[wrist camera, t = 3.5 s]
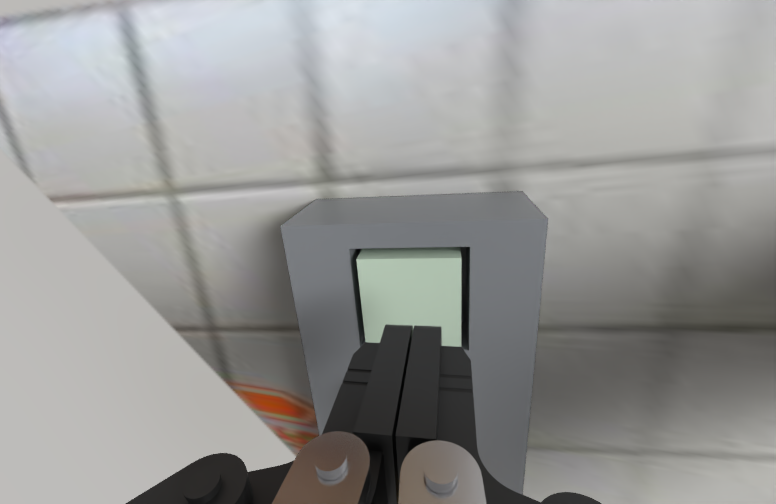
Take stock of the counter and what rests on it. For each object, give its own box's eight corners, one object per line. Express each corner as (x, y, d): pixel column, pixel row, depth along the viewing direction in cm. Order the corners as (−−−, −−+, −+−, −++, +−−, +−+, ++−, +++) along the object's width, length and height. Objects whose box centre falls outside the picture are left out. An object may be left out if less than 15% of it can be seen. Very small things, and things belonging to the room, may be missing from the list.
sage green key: (458, 237, 14) (461, 257, 12) (459, 318, 15) (461, 348, 13) (367, 239, 15) (356, 259, 13) (374, 317, 16) (365, 345, 14)
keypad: (522, 191, 15) (548, 218, 12) (505, 465, 21) (518, 541, 17) (316, 199, 17) (280, 226, 13) (353, 454, 22) (335, 522, 19)
